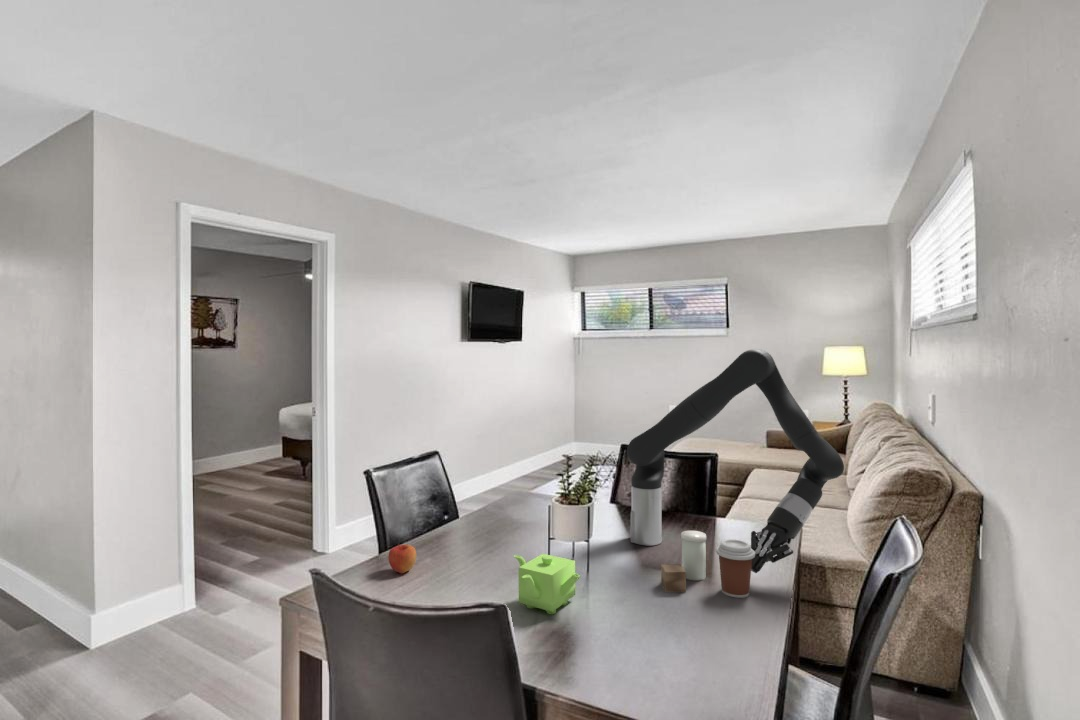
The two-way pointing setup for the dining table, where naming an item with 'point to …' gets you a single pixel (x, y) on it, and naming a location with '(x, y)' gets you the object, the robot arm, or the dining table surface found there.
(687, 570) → the canister
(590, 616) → the dining table surface
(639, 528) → the robot arm
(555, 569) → the kettle
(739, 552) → the coffee cup
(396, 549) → the apple
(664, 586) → the walnut block
